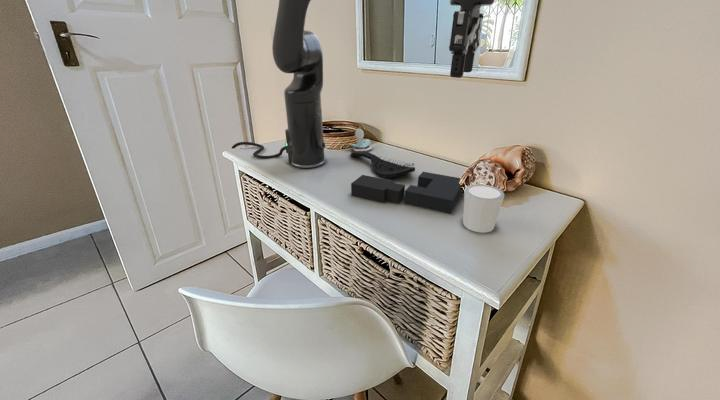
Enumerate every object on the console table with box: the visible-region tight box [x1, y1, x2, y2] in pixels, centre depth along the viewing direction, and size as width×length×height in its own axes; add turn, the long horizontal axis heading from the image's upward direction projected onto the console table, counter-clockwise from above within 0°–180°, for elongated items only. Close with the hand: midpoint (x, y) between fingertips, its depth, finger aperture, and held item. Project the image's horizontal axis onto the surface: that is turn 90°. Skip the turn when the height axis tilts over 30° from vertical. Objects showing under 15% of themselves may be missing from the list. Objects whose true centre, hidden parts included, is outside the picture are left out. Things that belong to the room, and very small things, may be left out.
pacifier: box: [348, 128, 373, 152], centre depth 102 cm, size 7×6×6 cm
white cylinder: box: [462, 183, 506, 234], centre depth 61 cm, size 7×7×7 cm
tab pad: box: [350, 174, 406, 205], centre depth 74 cm, size 11×6×3 cm, turn 62°
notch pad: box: [403, 171, 464, 214], centre depth 73 cm, size 10×12×3 cm
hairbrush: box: [350, 151, 416, 178], centre depth 90 cm, size 8×4×25 cm
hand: (461, 74), depth 64 cm, fingers open, 8 cm apart
